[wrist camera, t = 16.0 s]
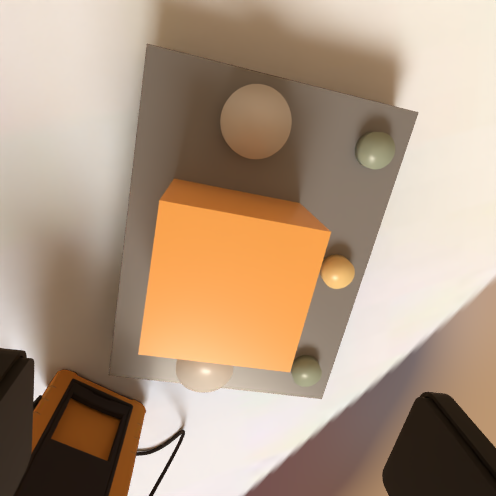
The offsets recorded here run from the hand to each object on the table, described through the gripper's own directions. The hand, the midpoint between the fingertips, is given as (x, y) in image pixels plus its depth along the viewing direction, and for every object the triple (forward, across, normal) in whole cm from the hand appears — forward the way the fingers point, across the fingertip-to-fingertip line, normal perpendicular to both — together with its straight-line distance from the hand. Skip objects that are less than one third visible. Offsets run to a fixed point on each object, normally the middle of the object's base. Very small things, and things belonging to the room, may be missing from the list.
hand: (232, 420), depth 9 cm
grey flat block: (+17, -2, +1) cm, 17 cm away
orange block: (+14, -1, +1) cm, 14 cm away
